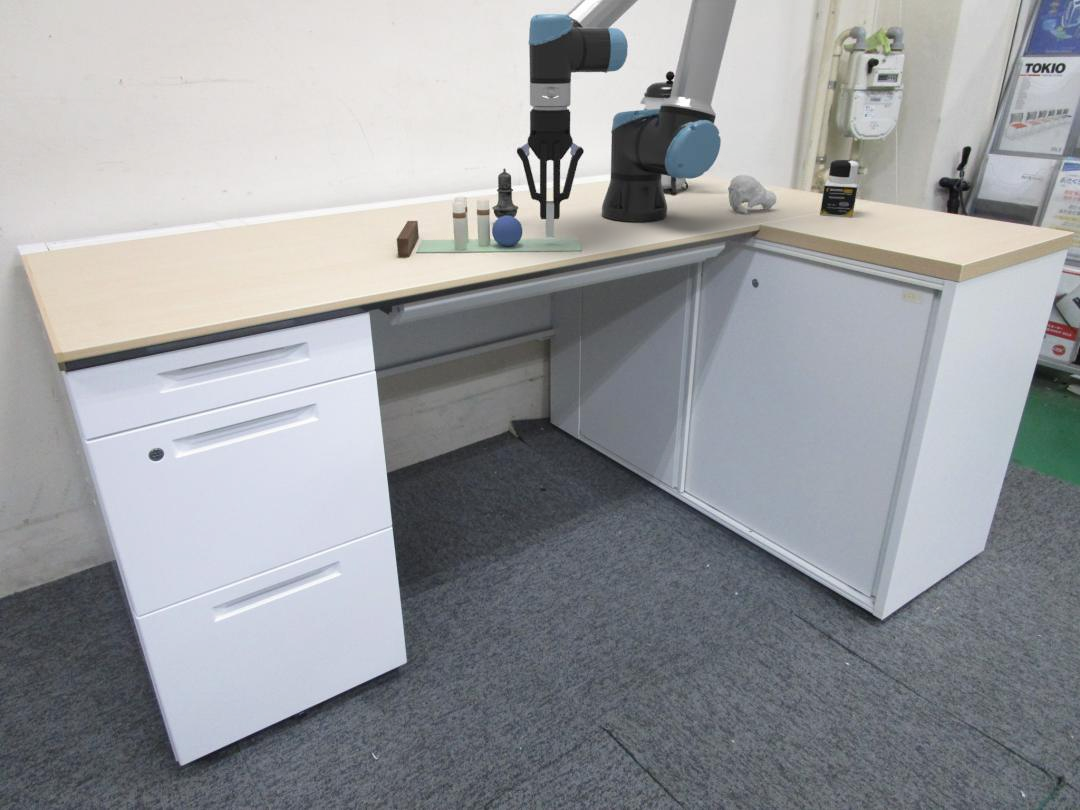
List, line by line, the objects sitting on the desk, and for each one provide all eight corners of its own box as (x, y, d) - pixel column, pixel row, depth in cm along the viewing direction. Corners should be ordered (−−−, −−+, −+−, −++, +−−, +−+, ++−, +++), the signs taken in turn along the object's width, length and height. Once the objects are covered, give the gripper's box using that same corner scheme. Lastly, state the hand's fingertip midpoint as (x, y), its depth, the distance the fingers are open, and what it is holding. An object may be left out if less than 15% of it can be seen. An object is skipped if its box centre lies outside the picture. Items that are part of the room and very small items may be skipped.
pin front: (490, 244, 150) (489, 198, 146) (490, 247, 148) (489, 201, 144) (478, 244, 150) (476, 198, 146) (477, 247, 148) (476, 201, 144)
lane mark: (577, 239, 154) (577, 238, 154) (581, 251, 145) (581, 250, 145) (421, 240, 153) (421, 240, 153) (416, 253, 144) (416, 252, 144)
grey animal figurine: (728, 172, 177) (773, 175, 180) (721, 208, 181) (765, 211, 184) (740, 176, 172) (786, 179, 175) (733, 214, 175) (778, 216, 178)
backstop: (418, 237, 156) (417, 220, 154) (408, 257, 141) (407, 238, 140) (409, 237, 156) (407, 220, 154) (398, 257, 141) (396, 238, 140)
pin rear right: (469, 241, 152) (467, 196, 149) (468, 244, 150) (466, 198, 146) (457, 241, 152) (454, 196, 148) (456, 244, 150) (453, 199, 146)
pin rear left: (467, 248, 148) (465, 201, 144) (466, 251, 145) (464, 204, 141) (455, 248, 147) (452, 201, 144) (454, 251, 145) (451, 204, 141)
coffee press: (647, 197, 196) (654, 72, 183) (628, 187, 211) (633, 70, 198) (708, 194, 200) (720, 71, 187) (686, 184, 214) (695, 70, 201)
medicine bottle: (819, 215, 174) (828, 162, 169) (821, 209, 180) (829, 158, 175) (852, 217, 172) (861, 163, 167) (853, 211, 178) (862, 159, 173)
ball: (486, 219, 149) (497, 247, 151) (488, 225, 143) (499, 254, 146) (514, 208, 149) (525, 236, 151) (517, 213, 143) (528, 242, 146)
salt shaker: (515, 226, 165) (514, 170, 160) (489, 225, 166) (487, 169, 161) (521, 221, 170) (520, 166, 165) (496, 220, 171) (494, 166, 166)
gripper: (515, 109, 135) (517, 240, 145) (587, 109, 135) (584, 239, 145) (514, 106, 141) (516, 231, 152) (583, 106, 142) (580, 231, 152)
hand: (549, 235), depth 148 cm, fingers closed
